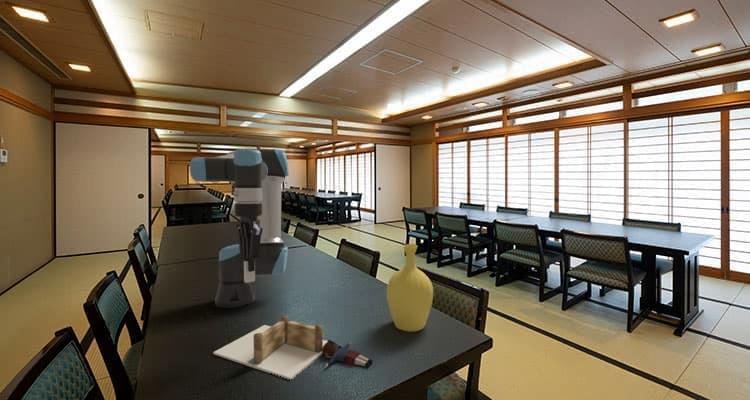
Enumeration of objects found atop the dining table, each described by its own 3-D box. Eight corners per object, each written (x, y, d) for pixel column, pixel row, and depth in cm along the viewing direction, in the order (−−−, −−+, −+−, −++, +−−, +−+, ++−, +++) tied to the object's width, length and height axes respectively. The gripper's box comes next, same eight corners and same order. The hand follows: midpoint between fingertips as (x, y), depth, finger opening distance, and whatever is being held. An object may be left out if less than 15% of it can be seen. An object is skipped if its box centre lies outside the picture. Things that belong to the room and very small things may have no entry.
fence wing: (283, 337, 102) (283, 314, 101) (289, 338, 101) (289, 315, 100) (252, 362, 88) (251, 336, 87) (258, 363, 87) (258, 337, 87)
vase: (427, 339, 104) (429, 251, 102) (380, 330, 109) (380, 248, 108) (436, 319, 119) (437, 243, 117) (394, 312, 124) (394, 240, 123)
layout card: (213, 354, 94) (213, 351, 94) (264, 326, 112) (264, 324, 112) (290, 380, 82) (290, 377, 82) (334, 344, 100) (334, 342, 100)
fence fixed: (286, 343, 98) (286, 320, 98) (291, 340, 100) (291, 317, 100) (319, 352, 93) (319, 328, 93) (324, 349, 95) (324, 325, 95)
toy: (380, 357, 95) (335, 343, 101) (381, 342, 95) (336, 328, 101) (358, 384, 82) (309, 366, 88) (359, 366, 82) (310, 349, 88)
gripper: (226, 201, 98) (228, 279, 99) (245, 204, 89) (246, 289, 90) (251, 200, 103) (252, 274, 105) (270, 203, 94) (271, 283, 95)
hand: (249, 281), depth 97 cm, fingers closed
